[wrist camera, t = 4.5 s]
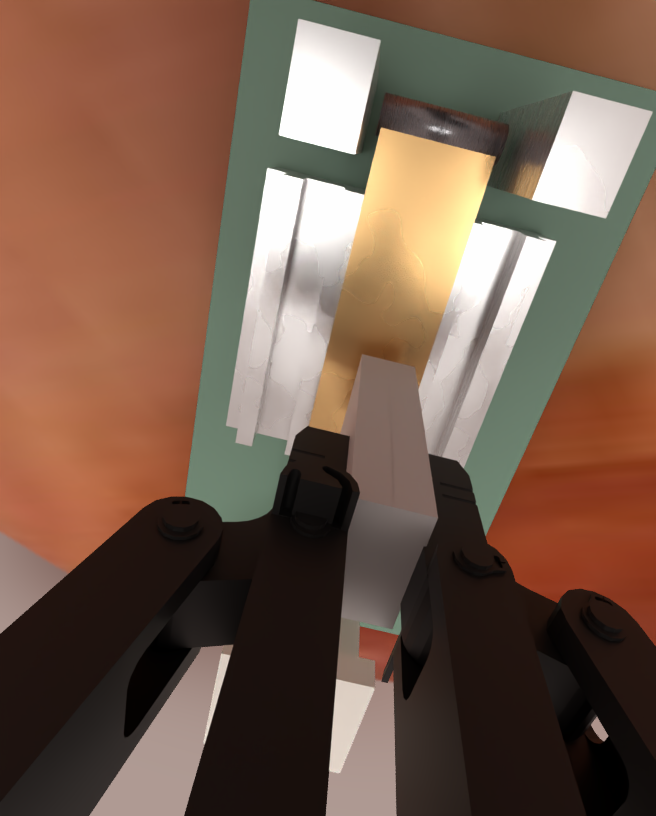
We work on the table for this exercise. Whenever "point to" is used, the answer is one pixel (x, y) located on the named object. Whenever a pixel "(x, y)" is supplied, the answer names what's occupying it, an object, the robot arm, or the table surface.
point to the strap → (407, 242)
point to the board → (264, 148)
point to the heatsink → (336, 225)
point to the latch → (349, 694)
